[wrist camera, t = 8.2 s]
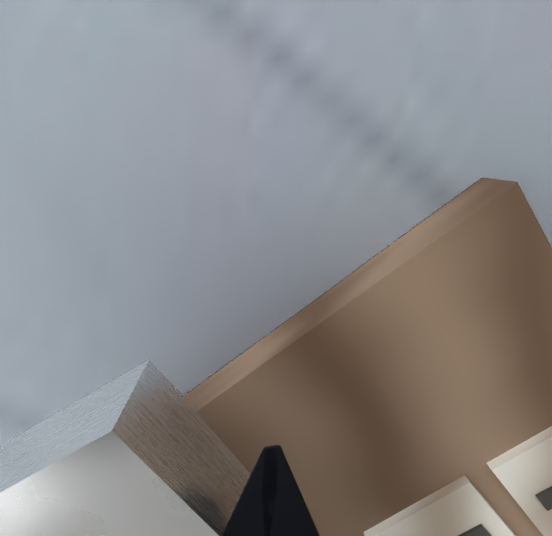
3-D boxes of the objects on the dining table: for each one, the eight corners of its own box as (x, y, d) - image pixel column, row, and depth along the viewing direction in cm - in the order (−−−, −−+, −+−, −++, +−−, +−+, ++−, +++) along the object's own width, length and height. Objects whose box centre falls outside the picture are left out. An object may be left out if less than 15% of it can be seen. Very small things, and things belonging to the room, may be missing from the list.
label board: (482, 177, 10) (595, 191, 7) (662, 500, 16) (776, 599, 12) (121, 441, 13) (72, 546, 10) (380, 639, 19) (408, 752, 15)
